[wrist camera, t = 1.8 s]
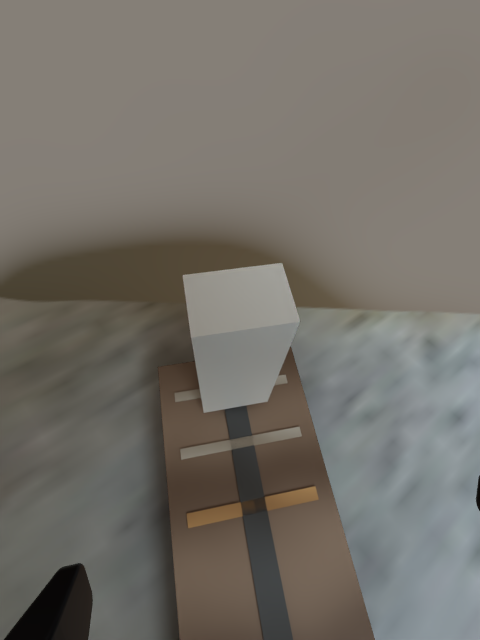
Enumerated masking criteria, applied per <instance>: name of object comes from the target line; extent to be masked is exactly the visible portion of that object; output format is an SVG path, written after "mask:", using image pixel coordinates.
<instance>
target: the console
mask: <svg viewBox="0 0 480 640" xmlns="http://www.w3.org/2000/svg"><path fill="white" fill-rule="evenodd" d="M158 375H159V387H160V400H161V412H162V425H163V437H164V450H165V462H166V475H167V487H168V500H169V512H170V525H171V537H172V550H173V562H174V575H175V587H176V600H177V612H178V625H179V637H180V640H375V638H374V635H373V631H372V628H371V624H370V621H369V618H368V614H367V611H366V607H365V604H364V600H363V597H362V593H361V590H360V586H359V583H358V579H357V576H356V572H355V569H354V565H353V562H352V558H351V555H350V551H349V548H348V544H347V541H346V537H345V534H344V530H343V527H342V523H341V520H340V516H339V513H338V509H337V506H336V502H335V499H334V495H333V492H332V488H331V485H330V482H329V478H328V475H327V471H326V468H325V464H324V461H323V457H322V454H321V450H320V447H319V443H318V440H317V436H316V433H315V429H314V426H313V422H312V419H311V415H310V412H309V408H308V405H307V401H306V398H305V394H304V391H303V387H302V384H301V380H300V377H299V373H298V370H297V366H296V363H295V359H294V356H293V352H292V349H291V346H290V348H289V350H288V353H287V355H286V358H285V360H284V363H283V365H282V367H281V370H280V372H279V375H278V377H277V380H276V382H275V385H274V387H273V389H272V392H271V394H270V397H269V399H268V402H263V403H257V404H251V405H246V406H240V407H234V408H229V409H223V410H217V411H212V412H206V413H204V411H203V405H202V399H201V393H200V388H199V382H198V376H197V370H196V364H195V361H193V362H186V363H180V364H173V365H167V366H161V367H158Z"/></svg>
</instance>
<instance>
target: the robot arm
mask: <svg viewBox="0 0 480 640" xmlns="http://www.w3.org/2000/svg"><path fill="white" fill-rule="evenodd" d="M476 503H477V506H478V509H479V511H480V476H479V479H478V488H477V496H476ZM92 601H93V599H92V591H91V587H90V584H89V580H88V577H87V574H86V570H85V568H84V566H83V564H81V563H78V564H73V565H69V566H65V567H62V568H60V569H59V570H58V571H57V572H56V574H55V575H54V576H53V577H52V579H51V580H50V581H49V582H48V584H47V585H46V586H45V588H44V589H43V590H42V591H41V593H40V594H39V595H38V597H37V598H36V599H35V600H34V602H33V603H32V604H31V606H30V607H29V608H28V609H27V611H26V612H25V613H24V614H23V616H22V617H21V618H20V620H19V621H18V622H17V623H16V625H15V626H14V627H13V629H12V630H11V631H10V632H9V634H8V635H7V636H6V638H5V639H4V640H88V636H89V628H90V620H91V612H92Z"/></svg>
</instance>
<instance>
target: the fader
mask: <svg viewBox="0 0 480 640" xmlns="http://www.w3.org/2000/svg"><path fill="white" fill-rule="evenodd" d="M183 282H184V289H185V296H186V304H187V312H188V319H189V326H190V334H191V340H192V346H193V352H194V358H195V364H196V370H197V376H198V382H199V388H200V393H201V399H202V405H203V411H204V413H206V412H212V411H217V410H223V409H229V408H234V407H240V406H246V405H251V404H257V403H263V402H268V399H269V397H270V394H271V392H272V389H273V387H274V385H275V382H276V380H277V377H278V375H279V372H280V370H281V367H282V365H283V363H284V360H285V358H286V355H287V353H288V350H289V348H290V346H291V343H292V341H293V338H294V336H295V333H296V331H297V329H298V326H299V324H300V319H299V316H298V312H297V309H296V306H295V303H294V300H293V297H292V294H291V290H290V287H289V284H288V281H287V278H286V274H285V271H284V268H283V265H282V263H278V264H269V265H261V266H254V267H245V268H237V269H229V270H221V271H213V272H205V273H196V274H188V275H183Z"/></svg>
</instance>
